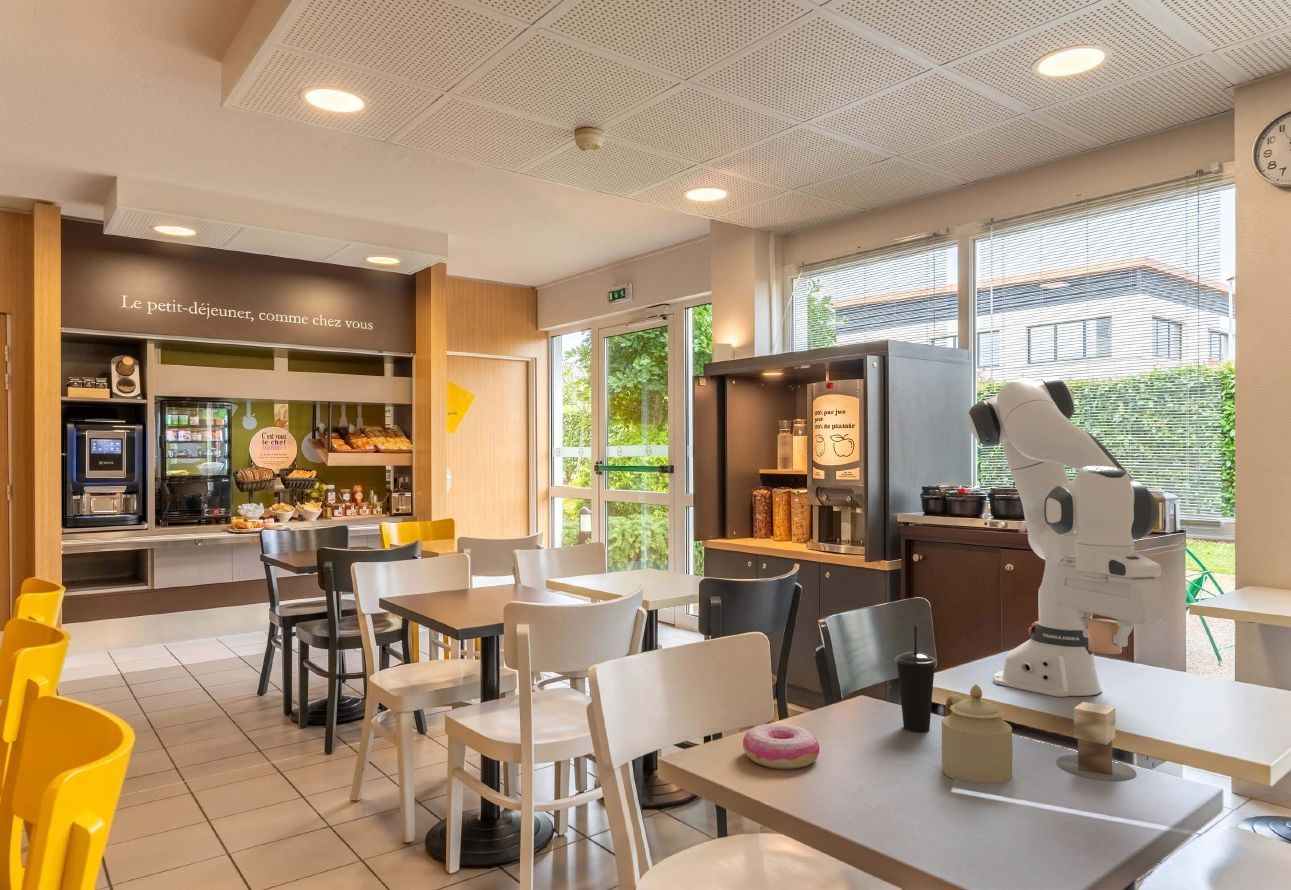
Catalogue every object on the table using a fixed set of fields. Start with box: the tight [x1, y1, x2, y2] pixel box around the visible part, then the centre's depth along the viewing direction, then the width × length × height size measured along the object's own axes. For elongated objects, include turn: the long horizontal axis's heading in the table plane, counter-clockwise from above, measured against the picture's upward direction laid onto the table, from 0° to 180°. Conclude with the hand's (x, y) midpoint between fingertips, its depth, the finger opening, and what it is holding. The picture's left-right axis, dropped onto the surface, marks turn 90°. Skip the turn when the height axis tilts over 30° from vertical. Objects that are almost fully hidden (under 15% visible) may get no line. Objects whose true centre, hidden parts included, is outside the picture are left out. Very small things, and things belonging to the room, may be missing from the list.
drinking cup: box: [894, 625, 937, 733], centre depth 163 cm, size 8×8×20 cm
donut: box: [742, 722, 820, 770], centre depth 147 cm, size 14×13×5 cm
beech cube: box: [1073, 701, 1116, 745], centre depth 140 cm, size 5×5×5 cm
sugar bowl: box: [941, 684, 1013, 784], centre depth 141 cm, size 15×11×15 cm
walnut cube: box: [1077, 739, 1113, 775], centre depth 140 cm, size 5×5×5 cm
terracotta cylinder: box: [1088, 618, 1123, 655], centre depth 142 cm, size 5×5×5 cm
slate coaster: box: [1055, 754, 1138, 782], centre depth 140 cm, size 12×12×1 cm
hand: (1104, 641), depth 142 cm, fingers closed on terracotta cylinder, 5 cm apart
